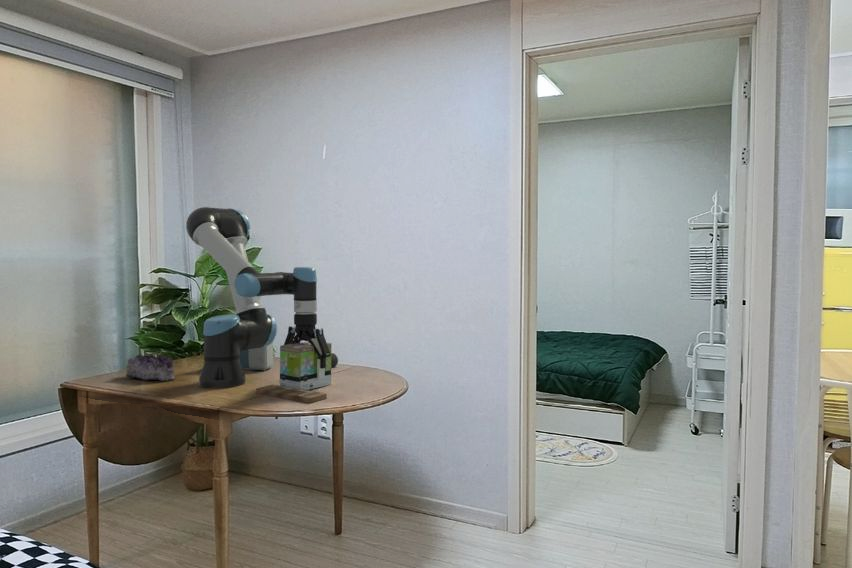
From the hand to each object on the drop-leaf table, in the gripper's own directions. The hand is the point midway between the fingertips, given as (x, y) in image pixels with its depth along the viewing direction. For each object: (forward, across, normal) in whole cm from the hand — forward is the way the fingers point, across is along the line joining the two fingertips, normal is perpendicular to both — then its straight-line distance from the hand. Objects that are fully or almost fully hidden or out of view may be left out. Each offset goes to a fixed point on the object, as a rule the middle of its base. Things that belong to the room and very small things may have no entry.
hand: (306, 375), depth 200 cm
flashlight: (+4, -18, +26) cm, 32 cm away
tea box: (+4, 0, 0) cm, 4 cm away
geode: (+4, -57, -19) cm, 60 cm away
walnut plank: (+4, +5, -12) cm, 14 cm away
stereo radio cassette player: (+4, -43, +11) cm, 45 cm away
